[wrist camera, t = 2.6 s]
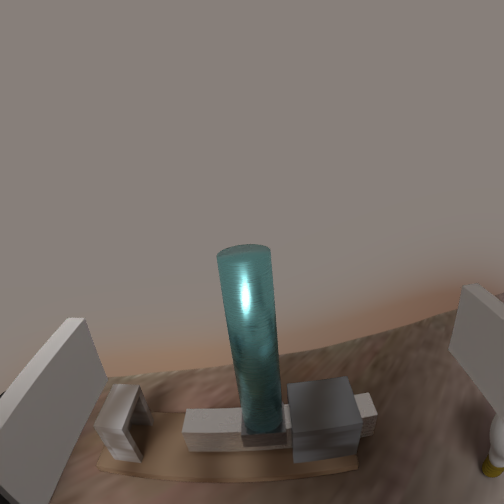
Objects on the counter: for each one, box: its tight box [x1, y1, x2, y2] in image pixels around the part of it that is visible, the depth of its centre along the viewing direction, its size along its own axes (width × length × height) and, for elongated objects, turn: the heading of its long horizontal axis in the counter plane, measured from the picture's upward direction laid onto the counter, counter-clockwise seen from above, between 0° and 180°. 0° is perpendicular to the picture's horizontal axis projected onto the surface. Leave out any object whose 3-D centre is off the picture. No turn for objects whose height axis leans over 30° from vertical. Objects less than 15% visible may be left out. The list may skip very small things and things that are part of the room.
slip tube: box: [182, 244, 378, 452], centre depth 25 cm, size 18×4×19 cm, turn 90°
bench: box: [93, 376, 363, 483], centre depth 28 cm, size 26×9×7 cm, turn 90°
